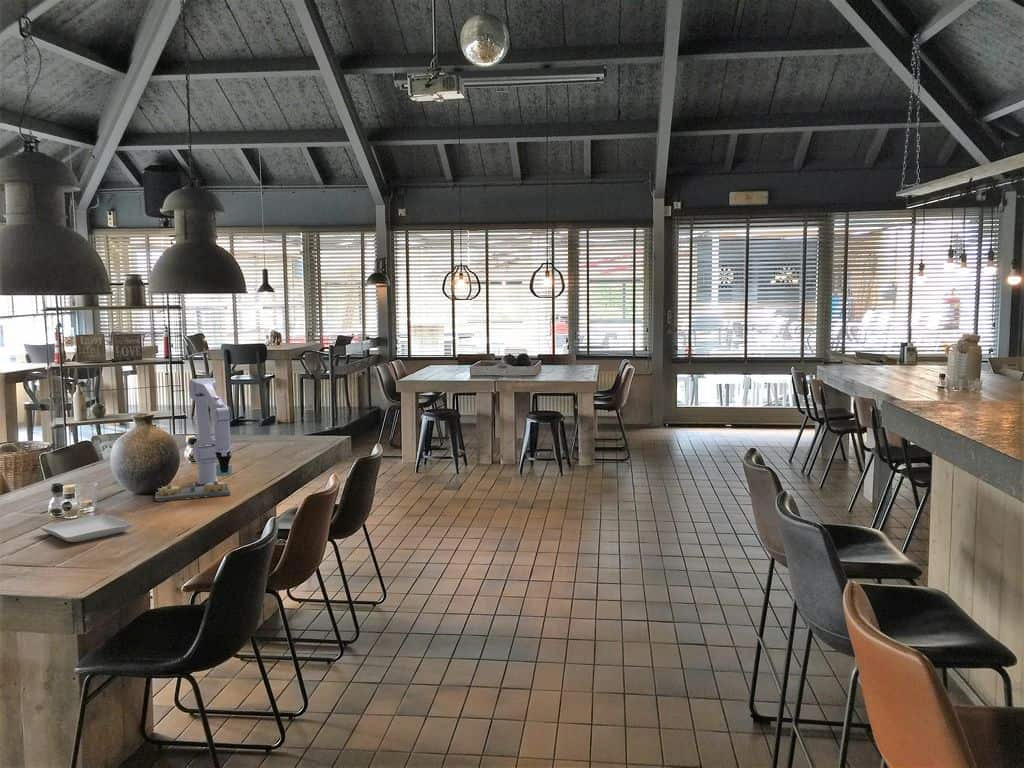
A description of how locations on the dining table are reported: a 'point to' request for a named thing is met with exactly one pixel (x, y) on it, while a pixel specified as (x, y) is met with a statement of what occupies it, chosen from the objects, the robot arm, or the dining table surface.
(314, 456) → the dining table surface
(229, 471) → the teal gear
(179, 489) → the gear board
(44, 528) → the salad plate
